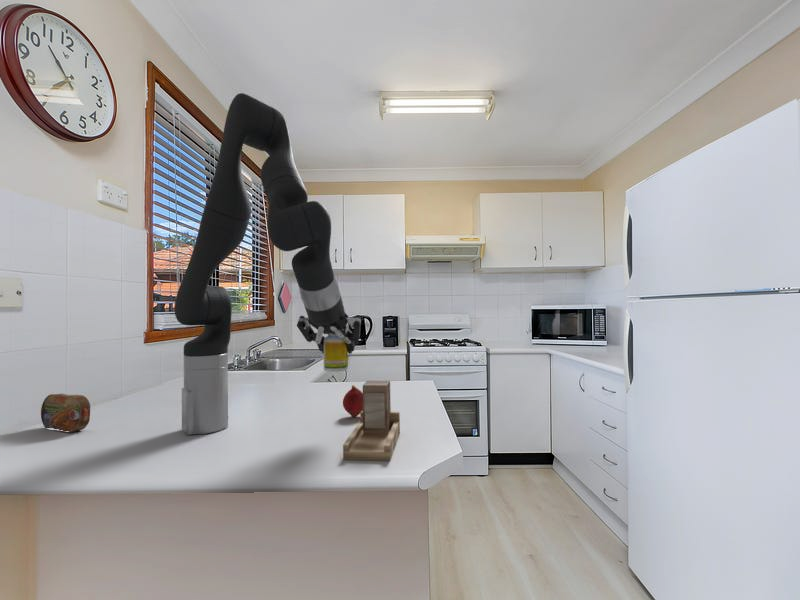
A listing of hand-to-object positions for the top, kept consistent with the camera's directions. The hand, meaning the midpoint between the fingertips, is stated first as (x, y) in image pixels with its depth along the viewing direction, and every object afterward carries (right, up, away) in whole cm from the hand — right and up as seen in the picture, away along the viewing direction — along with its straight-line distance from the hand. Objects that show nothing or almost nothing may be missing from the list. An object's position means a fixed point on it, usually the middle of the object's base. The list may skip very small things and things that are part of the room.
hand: (337, 350), depth 89 cm
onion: (+3, -18, +9) cm, 20 cm away
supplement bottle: (0, -4, -2) cm, 5 cm away
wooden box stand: (+9, -17, -12) cm, 23 cm away
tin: (-65, -19, +3) cm, 67 cm away
